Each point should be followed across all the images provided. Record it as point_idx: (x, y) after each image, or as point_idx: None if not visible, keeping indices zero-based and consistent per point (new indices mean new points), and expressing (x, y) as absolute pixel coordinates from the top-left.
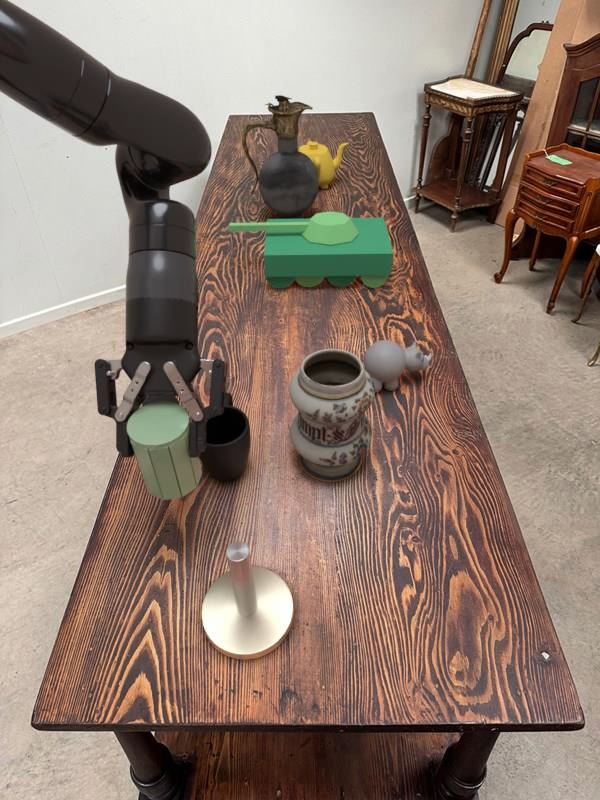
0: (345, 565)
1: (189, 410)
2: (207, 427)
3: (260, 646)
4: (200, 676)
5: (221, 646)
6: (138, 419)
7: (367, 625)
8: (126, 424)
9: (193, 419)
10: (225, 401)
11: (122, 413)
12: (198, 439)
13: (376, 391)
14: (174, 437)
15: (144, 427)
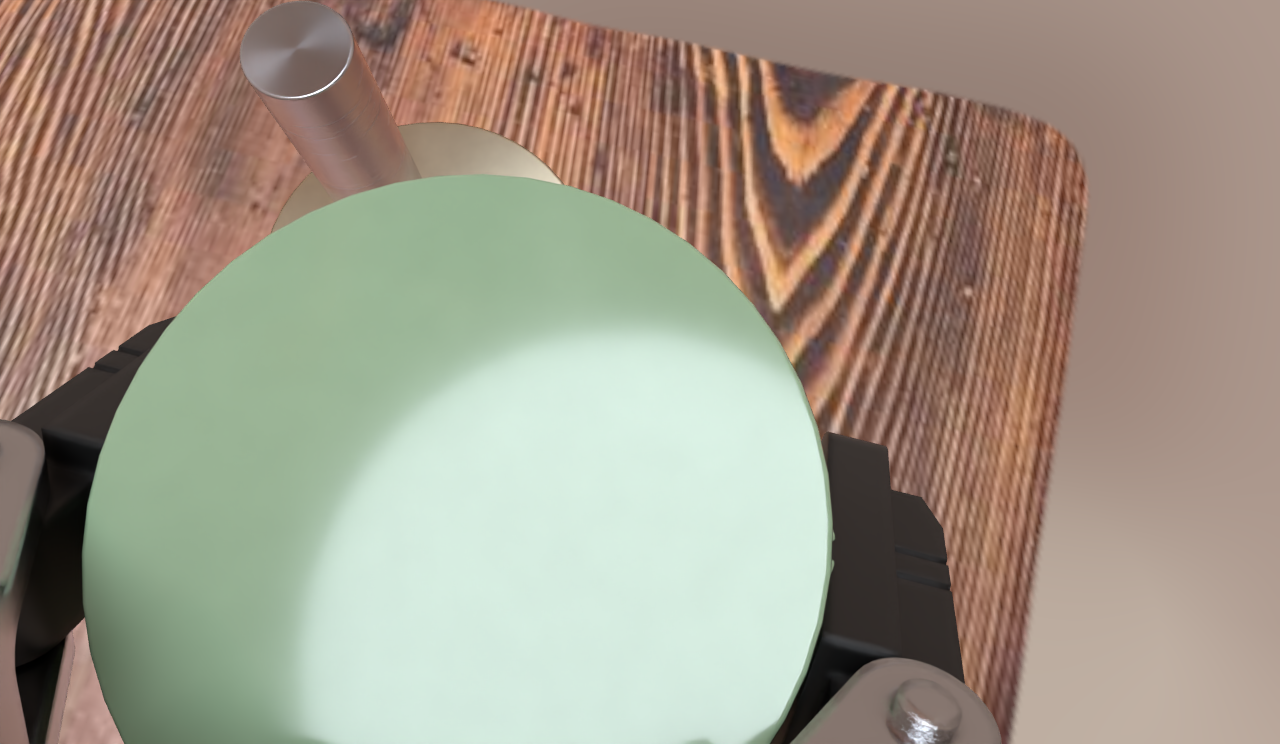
0: (39, 376)
1: (4, 520)
2: None
3: (415, 137)
4: (621, 133)
5: (537, 163)
6: (690, 627)
7: (70, 158)
8: (840, 622)
9: (40, 446)
10: None
11: (895, 736)
12: None
13: None
14: (307, 226)
15: (620, 462)
